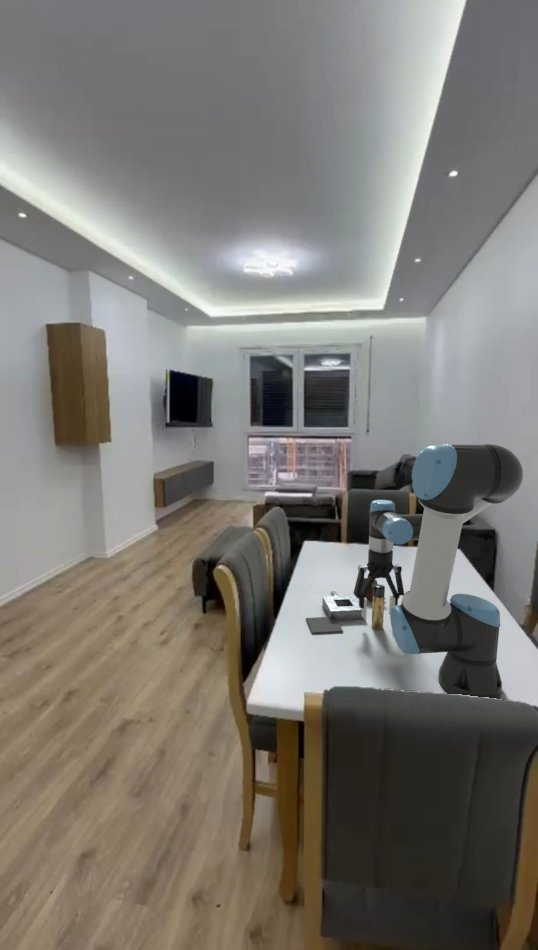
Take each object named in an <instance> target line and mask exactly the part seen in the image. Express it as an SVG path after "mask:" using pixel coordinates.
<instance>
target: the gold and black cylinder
mask: <svg viewBox="0 0 538 950" xmlns="http://www.w3.org/2000/svg"><path fill="white" fill-rule="evenodd" d="M385 592H386V586H384V585H383V584H379V583H377V584H376V585H374V586H373V601H372V607H371V610H372V611H371V612H372V613H371V628H372V630H376V631H382V630H383V629H384V615H385V600H384V598H385V595H386V594H385Z"/></svg>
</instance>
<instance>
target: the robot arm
mask: <svg viewBox="0 0 538 950" xmlns="http://www.w3.org/2000/svg"><path fill="white" fill-rule="evenodd" d="M411 472H412V473H411V480H412V482H411V486H412V491H413V493H414V495H415V496H416V497H417V498H418V503H419V504H420V505H421V506H422V507H423V513H415V514H412V513H411V514H397V513H396V504H395V502H394V501H392V500H388V499H375V500H372V501H371V503H370V508H369V526H368V527H369V528H368V529H369V530H368V531H369V532H368V535H369V536H368V548H369V549H368V551H367V553H368V556H367V564H366V565H360V564H359V565H358V566H357V569H358V570H357V572H358V573H357V577H356V582H355V586H354V589H353V595H355V596H356V597H357V598H358V599H359V606H360V608H362V611H361V615H362V617H363V618H364V619H363V620H367V609H368V606H367V605H368V600H367V599H366V598H365V596H366V595H367V593H368V591H369V589H370V587H371V585H372V583H373V581H375V580H377V579H380V578H381V579H385V580H386V583H387V584H388V587H389V589H390V591H391V593H392V594H390V595H389V606H388V607H389V610H388V613H389V616H390V625H391V631H392V634H393V637H394V641H395V643H396V645H397V647H398V648H399V649H400V650H401V651H402V653H404V654H410V655H411V654H413V655H421V654H434V653H446V654H445V656H444V658H443V660H442V663H441V665H440V667H439V670H438V683H439V685H440V687H442V689H444V690H445V691H446V692H447V693H449V694H450V693H452V694H462V695H470V696H478V697H489V698H498V699H499V698H500V697H501V696H502V690H503V683H502V679H501V675H500V671H499V668H498V663H497V659H498V658H497V657H498V650H499V649H498V648H499V636H500V627H501V613H500V610H499V608H498V607H497V605H495V604H494V603H493V602H491V601H489V600H487V599H484V598H482V597H480V596H477V595H473V594H467V593H456V594H453V595H452V596H451V597H450V599H449V601H450V602H449V601H448V600H447V599H448V595H449V590H450V585H451V580H452V575H453V571H454V566H455V561H456V556H457V552H458V547H459V541H460V539H461V533H462V527H463V525H464V523H466V522H467V521H469V520H470V519H471V518H473V517H475V516H476V515H477V514H479V513H481V512H482V511H484V510H485V509H487V508H488V507H489V506H491V505H497V504H502V503H503V502H506V501H507V500H508V499H509V498H511V497H512V496H513V495H514V494H516V493H517V491H518V490H519V489H520V486H521V485H522V482H523V478H524V472H523V467H522V464H521V461H520V460H519V458H518V457H517V456H516V455H515V454H514V453H513V452H512V451H511V450H510V449H508V448H506V447H504V446H500V445H498V444H490V443H489V444H449V443H443V444H439V445H437V444H436V445H435V444H434V445H429V446H427V447H425V448H424V449H423V450H421V451H420V452H419V453H418V455H417V456H416V459H415V461H414V464H413V467H412V471H411ZM409 541H418V542H417V547H416V554H415V559H414V565H413V571H412V578H411V584H410V587H409V588H410V589H409V590H408V591H406V592H405V589H404V584H403V578H402V571H403V567H402V566H401V565H400V564H399V563H396V564H393V561H394V559H393V558H394V557H393V555H394V554H393V553H394V552H393V551H394V545H397V546H398V545H404V544H406V543H409ZM392 570H393V571H394V577H395V582H396V583H395V584H396V585H395V584H394V582H393V578H392V577H391V574H390V573H391V572H392ZM367 571H368V574H367V579H366V581H365V583H364V585H363V587H362V584H363V580H364V578H365V574H366V572H367ZM361 588H362V589H361ZM400 596H402V598H401V604H400V605H399V604H398V603H399V599H400ZM452 694H451V695H452Z"/></svg>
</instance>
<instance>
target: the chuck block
mask: <svg viewBox="0 0 538 950" xmlns="http://www.w3.org/2000/svg"><path fill="white" fill-rule="evenodd" d="M321 606H322V608H323V609H324V611H325V613H326V615H327V617H330V619H337V621H338V622H341V621H360V620H361V621H362V620H365V619H364V618H363V617H362V615H361V611H362V608H360V606H359V598H357V597H356V596H355V595H354V594H348V595H338V594H337V592H336V591H335V590H332V591H331V592H330V595H329V596H328V595H327V596H322V605H321Z"/></svg>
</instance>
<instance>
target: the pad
mask: <svg viewBox="0 0 538 950" xmlns="http://www.w3.org/2000/svg"><path fill="white" fill-rule="evenodd" d="M305 621H306V624H307V625H308V628H309V631H310V630H311V631H310V632H311V635H320V634H321V635H322V634H337V633H338V634H340V633H342V634H343V632H344V629H343V628H342V627H341V625H340V623H339V621H337V619H330V617H328V616H319V617H316V616H315V617H305Z"/></svg>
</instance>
